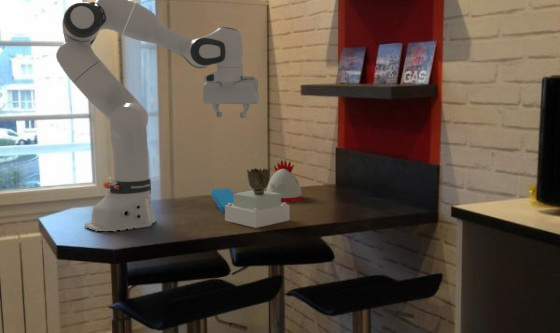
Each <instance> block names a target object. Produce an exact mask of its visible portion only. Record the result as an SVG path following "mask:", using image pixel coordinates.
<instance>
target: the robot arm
mask: <svg viewBox="0 0 560 333" xmlns="http://www.w3.org/2000/svg"><path fill="white" fill-rule="evenodd" d="M61 26H62V33H63V36H64V42H63V43H62V44H61V45H60V46H59V47H58V49H57V51H56V55H55V57H56V60H57V63H58V64H59V65H60V68H61V69H62V70H63V72H64V73H65V75H66V76H67V77H68V78H69V80H70V81H71V82H72V83H73V85H75V87H76V88H77V89H78V90H79V91H80V92H81V93H82V94H83V96H84V97H85V98H86V99H87V100H88V101H89V102H90V103H91V104H92V105H93V106H94V107H95V108H96V109H98V110H99V111H100V112H101V114H103V115H104V116H105V117H106V118H107V120H109V132H110V140H111V141H110V142H111V150H112V155H113V156H112V158H113V161H112V162H113V178H114V179H113V180H112V181H111V182H109V181H104V183H103V184H102V186H103V188H105V189H109V192H108V193H107V194H106V195H105V196H104V197H103V198H102V199H101V200H100V201H99V202H97V203H96V205H95V206H93V209H92V213H91V221H87V222H84V228H85V227H87V228H89V229H93V230H97V231H113V232H118V231H117V230H120V231H126V229H128V230H134V229H133V228H135V229H140V228H142V229H143V228H149V227H151V226H152V225H153V224H154V223H155V222H156V221H157V220H156V217H155V214H154V210H153V205H152V198H151V193H152V180H151V178H150V165H149V164H150V163H149V162H150V161H149V148H148V136H147V134H148V133H147V125H148V122H149V115H148V112H147V110H146V108H145V107H144V106H143V105H142V103H140V102H139V100H137V98H136V97H135V96H134V95H133V94H132V93H131V92H130V91H129V90H128V89H127V88H126V87H125V86H124V85H123V84H122V82H121V81H120V80H119V79H118V78H117V76H115V75H114V74H113V73H112V72H111V70H109V68H108V67H107V66H106V64H104V62H103V61H102V60H101V59H100V58H99V57H98V55H96V53H95V52H94V51H93V49H92V44H93V43H94V42H95V40H96V38H97V36H98V34H99V32H100V31H101V30H109V31H114V32H116V33H118V34H120V35H122V36H124V37H127V38H131V39H134V40H137V41H141V42H146V43H151V44H155V45H158V46H161V47H163V48H165V49H167V50H170V51H172V52H173V53H176V54H178V55H180V56H181V57H183V58H184V59H185V61H186V62H187V63H188V64H190V66H191V67H194V68H196V69H205V68H207V67H210V66H212V65H216V71H215V72H212V73H208V74H206V75H204V76H203V81H204V82H205V83H204V84H203V87H202V101H203V103H204V104H209V105H210V104H211V105H212V109H213V111H214V112H215V118H222V117H223V112H222V111H220V109H219V108H220V105H242V108H243V110H242V112H239V115H240V116H239V117H240V119H245V118H247V113H248V110H249V108H250V105H258V103H259V102H260V94H259V81H258V79H257V78H256V77H255V76H252V75H251V76H250V75H249V76H244V66H243V65H244V64H243V56H244V48H243V38H242V34H241V32H240V31H239V30H238V29H236V28H234V27H226V26H220V27H218V28H217V29H216V30H215V31H213V32H211V33H208V34H207V35H203V36H200V37H198V38H190V37H186V36H185V35H183V34H181V33H178V32H176V31H174V30H173V29H170V28H168V27H167V26H165V25H164V24H163V23H162V22H161V21H160V19H159V18H158V17H157V15H156V14H155V13H154V12H152V11H151V10H149V9H148V8H147V7H145V6H143V5H141V4H140V3H137V2H135V1H133V0H96V1H88V2H86V1H84V2H83V1H82V2H81V1H80V2H75V3H73V4H71V5H69V6H68V7H67V9H66V10H65V12H64V14H63V19H62V25H61ZM87 228H86V229H87ZM89 229H88V230H89ZM97 231H96V232H97Z"/></svg>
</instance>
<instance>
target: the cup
mask: <svg viewBox="0 0 560 333" xmlns="http://www.w3.org/2000/svg"><path fill="white" fill-rule="evenodd" d="M246 174H247V180H248V184H249V187H250V188H251V189H252V190H253V192H254V194H264V192H265V191H266V190H265V189H267V187H268V184H269V181H270V174H271V169H269V168H268V169H267V168H263V169H262V168H259V169H258V168H256V167H255V168H254V169H253V168H251V169H250V170H249V169H247V170H246Z"/></svg>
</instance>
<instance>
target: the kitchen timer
mask: <svg viewBox="0 0 560 333" xmlns="http://www.w3.org/2000/svg"><path fill="white" fill-rule="evenodd" d="M291 164H292V163H291V161H288V163H287V160H284V161H283V160H280V163H279V162H278V163H277V164H276V165H277V166H276V165H274V166H273V167H274V168H273V169H274V170H275V172H274V174H273V175H272V176H271V177H270V178H269V183H268V186H267V187H266V191H270V192H276V193H281V203H294V202H293V201H295V202H298V200H299V201H301V200H302V199H303V198H302V197H303V194H302V187H301V185H300V183H299V180H298V178H297V177H296V175H295V174H294V173H293V170H294V167H295V164H292V165H291Z"/></svg>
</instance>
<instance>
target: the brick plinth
mask: <svg viewBox="0 0 560 333" xmlns="http://www.w3.org/2000/svg"><path fill="white" fill-rule="evenodd" d="M253 190H254V189H252V190H247V191H240V192H236V193H233V204H232V203H228V205H226V206H225V212H224V220H225V222H229V223H234V224H239V225H242V226H245V227H246V226H247V227H250V228H255V229H257V228H261V227H266V226H271V225H275V224H279V223H283V222H289V221H291V220H290V216H291V215H290V208H291V207H290V206H291V205H289V204H287V202H281V193H276V192H270V191H267V190H264V191H265V192H264V194H254V192H253Z"/></svg>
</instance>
